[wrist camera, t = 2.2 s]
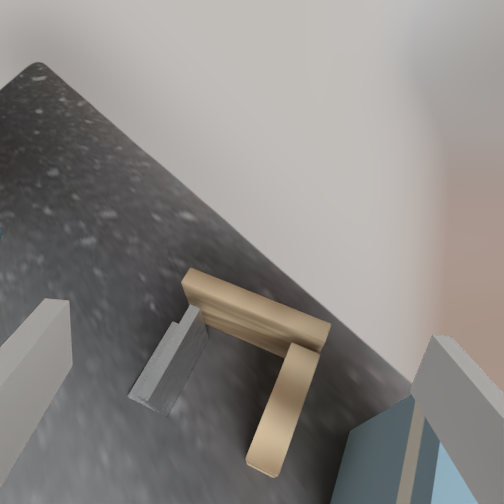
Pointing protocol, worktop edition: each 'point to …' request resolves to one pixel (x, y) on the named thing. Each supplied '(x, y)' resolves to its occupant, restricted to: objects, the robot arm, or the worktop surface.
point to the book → (398, 462)
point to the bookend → (171, 363)
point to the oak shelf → (270, 339)
